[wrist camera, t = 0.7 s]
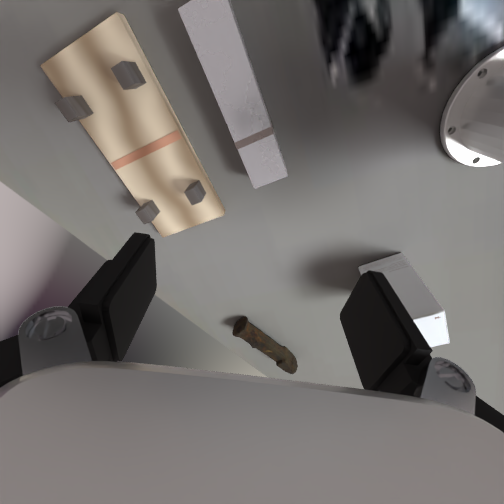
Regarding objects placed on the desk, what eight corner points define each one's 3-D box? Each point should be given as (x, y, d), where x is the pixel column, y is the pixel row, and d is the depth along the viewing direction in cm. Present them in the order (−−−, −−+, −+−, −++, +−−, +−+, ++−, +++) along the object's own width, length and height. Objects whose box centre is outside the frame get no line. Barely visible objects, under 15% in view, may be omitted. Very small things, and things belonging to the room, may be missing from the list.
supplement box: (356, 266, 43) (383, 326, 33) (402, 251, 41) (447, 310, 30) (366, 294, 47) (394, 356, 36) (409, 282, 44) (452, 344, 34)
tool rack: (124, 15, 26) (100, 4, 23) (225, 210, 38) (220, 224, 35) (49, 66, 29) (17, 64, 25) (166, 232, 41) (155, 248, 38)
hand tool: (232, 321, 54) (229, 340, 50) (246, 313, 52) (244, 332, 48) (286, 361, 61) (287, 380, 58) (300, 355, 60) (302, 375, 56)
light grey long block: (228, -6, 25) (221, -20, 21) (286, 165, 34) (288, 176, 30) (190, 18, 26) (176, 9, 22) (255, 177, 35) (254, 189, 32)
